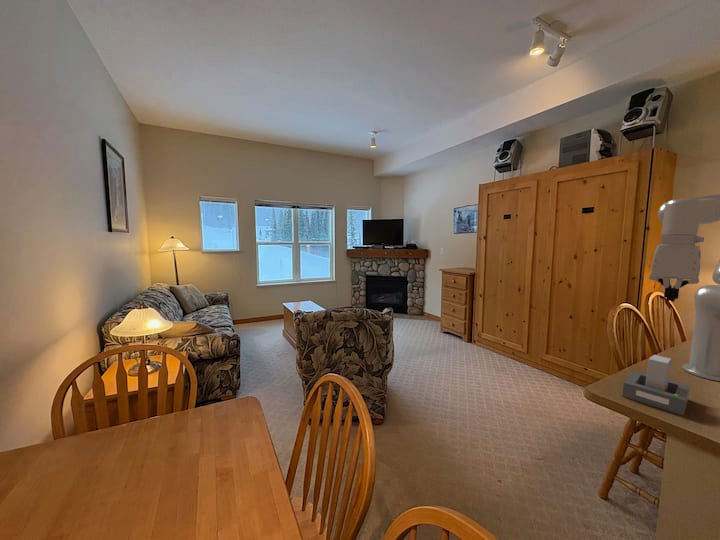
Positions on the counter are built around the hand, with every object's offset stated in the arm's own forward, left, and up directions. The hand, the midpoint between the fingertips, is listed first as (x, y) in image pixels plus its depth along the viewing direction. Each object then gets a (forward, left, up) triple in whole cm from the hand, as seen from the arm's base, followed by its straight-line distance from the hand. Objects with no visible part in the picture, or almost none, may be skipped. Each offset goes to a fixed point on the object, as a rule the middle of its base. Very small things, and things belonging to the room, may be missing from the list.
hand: (670, 300), depth 95 cm
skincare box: (+8, 0, -29) cm, 30 cm away
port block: (+8, 0, -29) cm, 30 cm away
